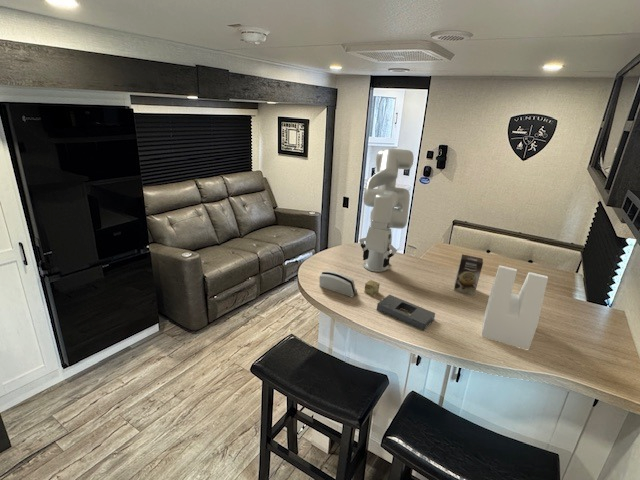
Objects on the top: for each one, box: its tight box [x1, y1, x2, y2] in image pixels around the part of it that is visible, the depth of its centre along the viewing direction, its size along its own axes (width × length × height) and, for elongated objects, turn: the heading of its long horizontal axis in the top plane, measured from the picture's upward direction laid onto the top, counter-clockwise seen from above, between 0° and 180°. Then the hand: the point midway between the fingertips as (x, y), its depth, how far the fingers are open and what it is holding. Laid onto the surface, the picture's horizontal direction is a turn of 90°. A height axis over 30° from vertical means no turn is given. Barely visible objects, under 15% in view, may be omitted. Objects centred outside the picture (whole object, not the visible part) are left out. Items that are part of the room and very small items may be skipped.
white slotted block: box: [480, 264, 549, 350], centre depth 129 cm, size 19×15×25 cm
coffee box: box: [453, 253, 484, 296], centre depth 159 cm, size 9×6×16 cm
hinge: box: [318, 270, 358, 298], centre depth 153 cm, size 17×5×10 cm, turn 60°
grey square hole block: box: [376, 294, 436, 332], centre depth 139 cm, size 10×20×3 cm, turn 51°
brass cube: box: [363, 279, 380, 297], centre depth 154 cm, size 4×4×4 cm
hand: (375, 262), depth 149 cm, fingers open, 9 cm apart
